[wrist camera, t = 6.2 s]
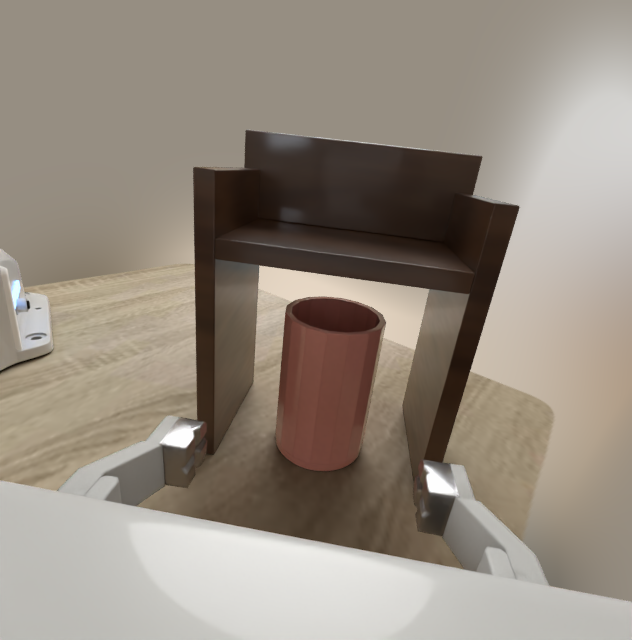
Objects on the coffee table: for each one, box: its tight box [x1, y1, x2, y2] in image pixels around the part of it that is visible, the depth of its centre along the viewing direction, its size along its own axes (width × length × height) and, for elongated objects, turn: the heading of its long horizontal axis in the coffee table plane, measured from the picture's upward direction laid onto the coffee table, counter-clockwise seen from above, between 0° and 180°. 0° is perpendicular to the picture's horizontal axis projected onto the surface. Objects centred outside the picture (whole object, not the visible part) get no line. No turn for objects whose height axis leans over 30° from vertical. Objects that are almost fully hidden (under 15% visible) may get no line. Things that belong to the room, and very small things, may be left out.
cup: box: [276, 297, 386, 471], centre depth 27 cm, size 7×7×10 cm
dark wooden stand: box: [193, 130, 519, 481], centre depth 26 cm, size 10×16×21 cm, turn 83°
